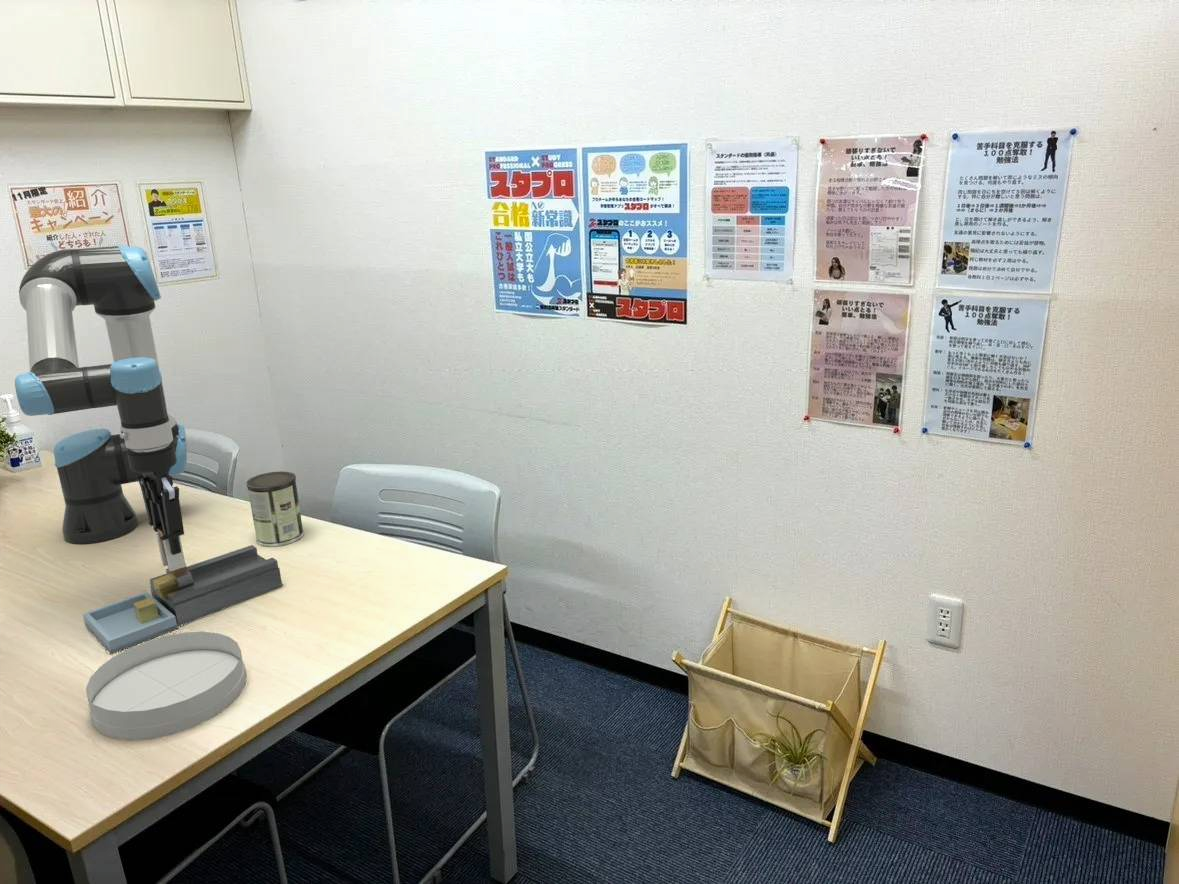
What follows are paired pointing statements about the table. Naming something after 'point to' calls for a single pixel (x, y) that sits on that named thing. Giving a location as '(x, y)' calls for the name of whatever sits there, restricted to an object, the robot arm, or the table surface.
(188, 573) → the hammer
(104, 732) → the dish
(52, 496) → the table surface
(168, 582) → the yellow cube
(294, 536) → the coffee can
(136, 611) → the yellow wooden cube
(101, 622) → the tray
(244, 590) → the slot bed
